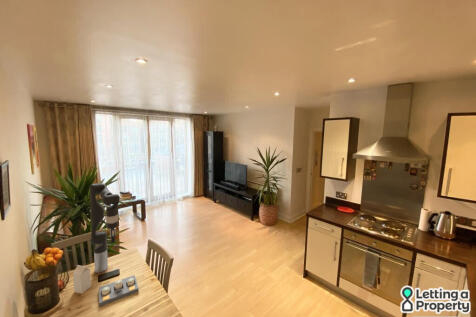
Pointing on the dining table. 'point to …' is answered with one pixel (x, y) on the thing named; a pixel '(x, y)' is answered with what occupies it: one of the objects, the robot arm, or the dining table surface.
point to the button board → (117, 291)
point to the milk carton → (81, 279)
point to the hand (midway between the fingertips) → (113, 242)
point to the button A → (105, 291)
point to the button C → (130, 282)
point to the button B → (118, 284)
